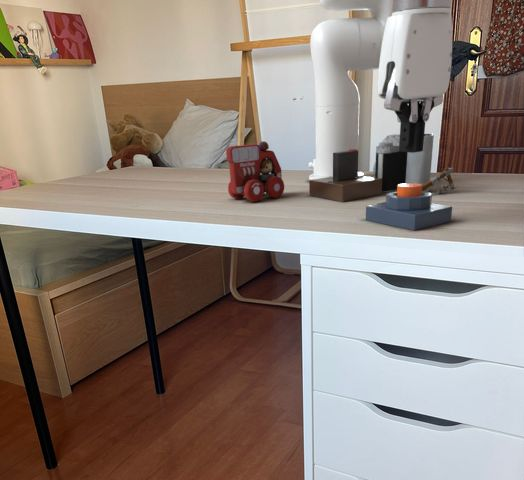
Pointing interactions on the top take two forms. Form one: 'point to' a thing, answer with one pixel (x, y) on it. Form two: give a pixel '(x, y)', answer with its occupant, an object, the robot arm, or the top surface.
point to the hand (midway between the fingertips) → (410, 151)
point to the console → (345, 188)
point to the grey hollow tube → (420, 163)
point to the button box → (409, 211)
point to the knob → (345, 165)
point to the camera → (390, 163)
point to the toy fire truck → (254, 172)
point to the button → (409, 189)
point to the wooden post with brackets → (438, 178)
